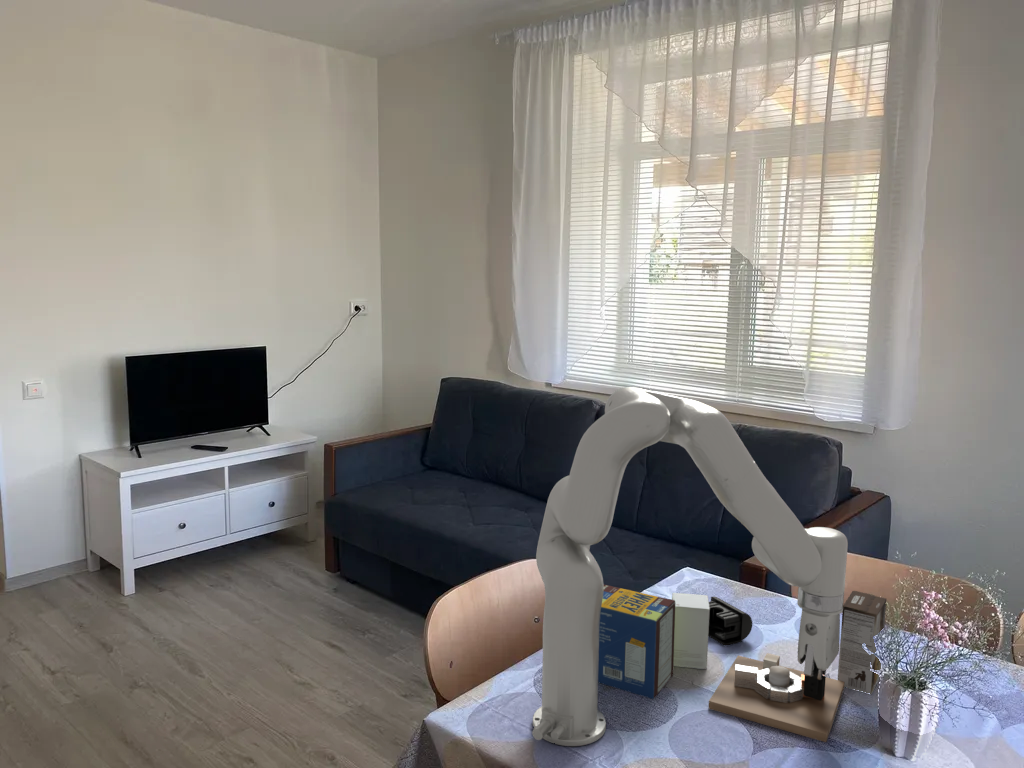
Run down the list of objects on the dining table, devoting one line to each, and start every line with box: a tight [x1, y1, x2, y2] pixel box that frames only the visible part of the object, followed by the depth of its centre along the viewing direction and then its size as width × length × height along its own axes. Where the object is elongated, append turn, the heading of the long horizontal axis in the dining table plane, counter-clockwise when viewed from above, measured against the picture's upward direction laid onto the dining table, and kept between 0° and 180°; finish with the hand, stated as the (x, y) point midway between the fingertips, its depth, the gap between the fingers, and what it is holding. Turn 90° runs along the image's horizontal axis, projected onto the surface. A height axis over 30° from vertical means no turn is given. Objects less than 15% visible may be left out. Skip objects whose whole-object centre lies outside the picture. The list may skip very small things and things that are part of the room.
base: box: [708, 652, 845, 743], centre depth 146 cm, size 20×20×6 cm
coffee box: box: [837, 590, 887, 695], centre depth 152 cm, size 9×6×16 cm
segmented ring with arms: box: [734, 664, 825, 703], centre depth 146 cm, size 16×8×3 cm, turn 72°
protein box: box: [598, 584, 675, 700], centre depth 153 cm, size 10×15×16 cm
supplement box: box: [671, 592, 710, 670], centre depth 160 cm, size 7×7×13 cm
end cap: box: [708, 596, 753, 647], centre depth 172 cm, size 10×7×7 cm
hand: (813, 696), depth 142 cm, fingers closed
